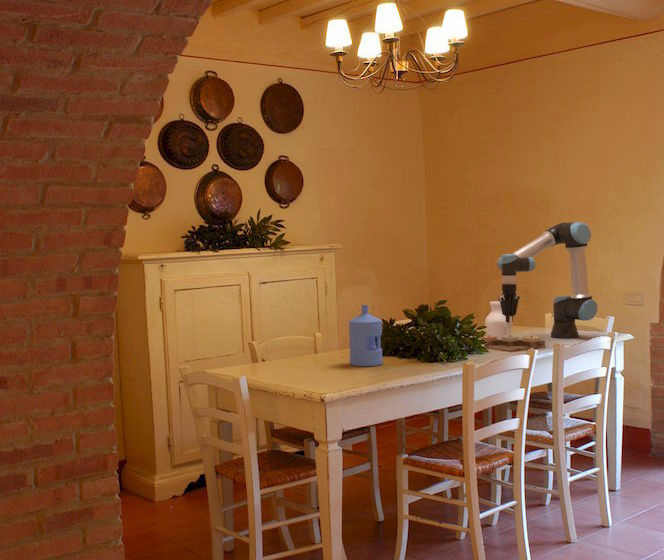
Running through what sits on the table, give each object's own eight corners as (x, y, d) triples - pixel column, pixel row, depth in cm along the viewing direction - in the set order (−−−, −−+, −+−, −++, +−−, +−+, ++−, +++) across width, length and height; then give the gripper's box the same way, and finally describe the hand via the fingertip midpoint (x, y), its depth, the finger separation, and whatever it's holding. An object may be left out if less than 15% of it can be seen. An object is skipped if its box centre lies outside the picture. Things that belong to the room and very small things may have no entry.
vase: (512, 337, 484) (511, 302, 482) (487, 338, 484) (486, 303, 483) (507, 334, 498) (506, 300, 497) (483, 335, 498) (482, 301, 497)
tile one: (510, 340, 449) (510, 335, 449) (518, 341, 444) (518, 336, 444) (501, 341, 446) (501, 336, 446) (509, 342, 441) (509, 337, 441)
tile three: (531, 341, 445) (531, 335, 445) (539, 342, 440) (539, 336, 440) (523, 342, 442) (523, 336, 442) (531, 343, 437) (531, 337, 437)
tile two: (489, 340, 453) (489, 335, 453) (497, 341, 448) (496, 336, 447) (480, 341, 450) (480, 336, 450) (488, 342, 445) (488, 337, 444)
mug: (515, 340, 471) (514, 321, 471) (506, 341, 466) (506, 323, 465) (497, 338, 480) (496, 320, 479) (488, 340, 474) (488, 322, 474)
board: (509, 342, 463) (509, 336, 462) (545, 347, 439) (545, 340, 439) (475, 346, 451) (475, 339, 451) (510, 352, 427) (510, 345, 427)
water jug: (345, 366, 396) (343, 306, 395) (355, 361, 411) (354, 303, 409) (377, 367, 391) (375, 307, 389) (386, 362, 406) (385, 303, 404)
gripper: (513, 282, 450) (513, 327, 451) (494, 283, 443) (495, 328, 444) (523, 283, 443) (523, 328, 444) (504, 284, 437) (504, 330, 438)
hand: (509, 328), depth 444 cm, fingers closed
